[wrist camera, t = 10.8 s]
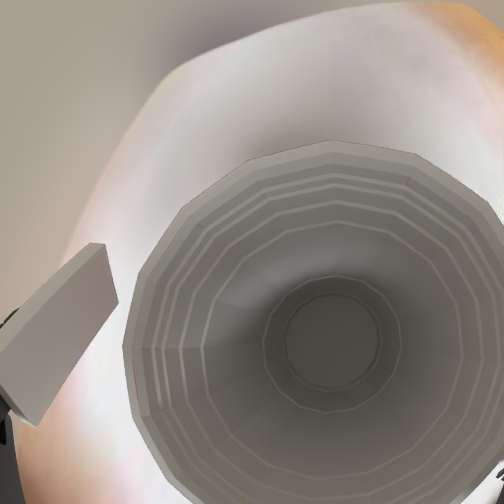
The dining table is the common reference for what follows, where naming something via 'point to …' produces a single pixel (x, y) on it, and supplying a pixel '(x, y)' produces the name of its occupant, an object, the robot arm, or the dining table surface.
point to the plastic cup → (323, 334)
